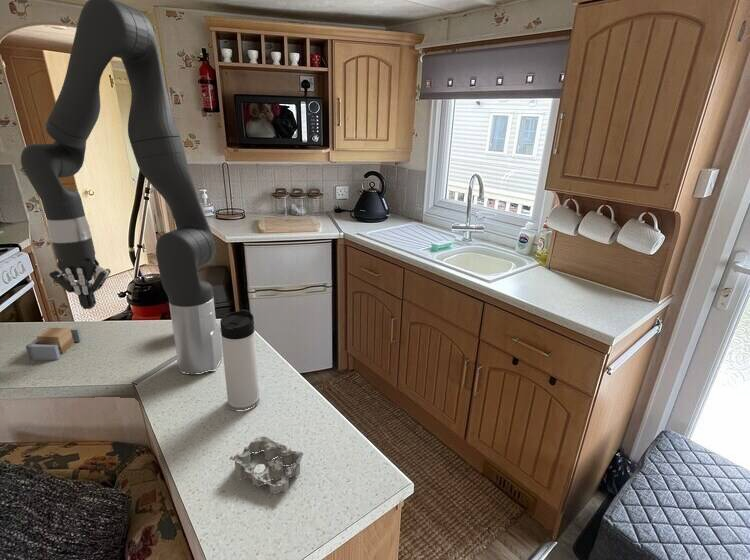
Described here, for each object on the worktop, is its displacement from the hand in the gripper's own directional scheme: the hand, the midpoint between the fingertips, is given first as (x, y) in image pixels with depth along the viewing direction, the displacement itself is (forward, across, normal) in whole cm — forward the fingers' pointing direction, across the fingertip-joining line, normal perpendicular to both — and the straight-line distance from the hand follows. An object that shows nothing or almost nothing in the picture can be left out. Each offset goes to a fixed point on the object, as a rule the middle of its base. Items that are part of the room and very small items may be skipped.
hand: (89, 307), depth 100 cm
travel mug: (+14, -40, +20) cm, 47 cm away
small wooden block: (+12, +10, 0) cm, 15 cm away
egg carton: (+14, -48, +38) cm, 63 cm away
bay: (+11, +10, 0) cm, 15 cm away
